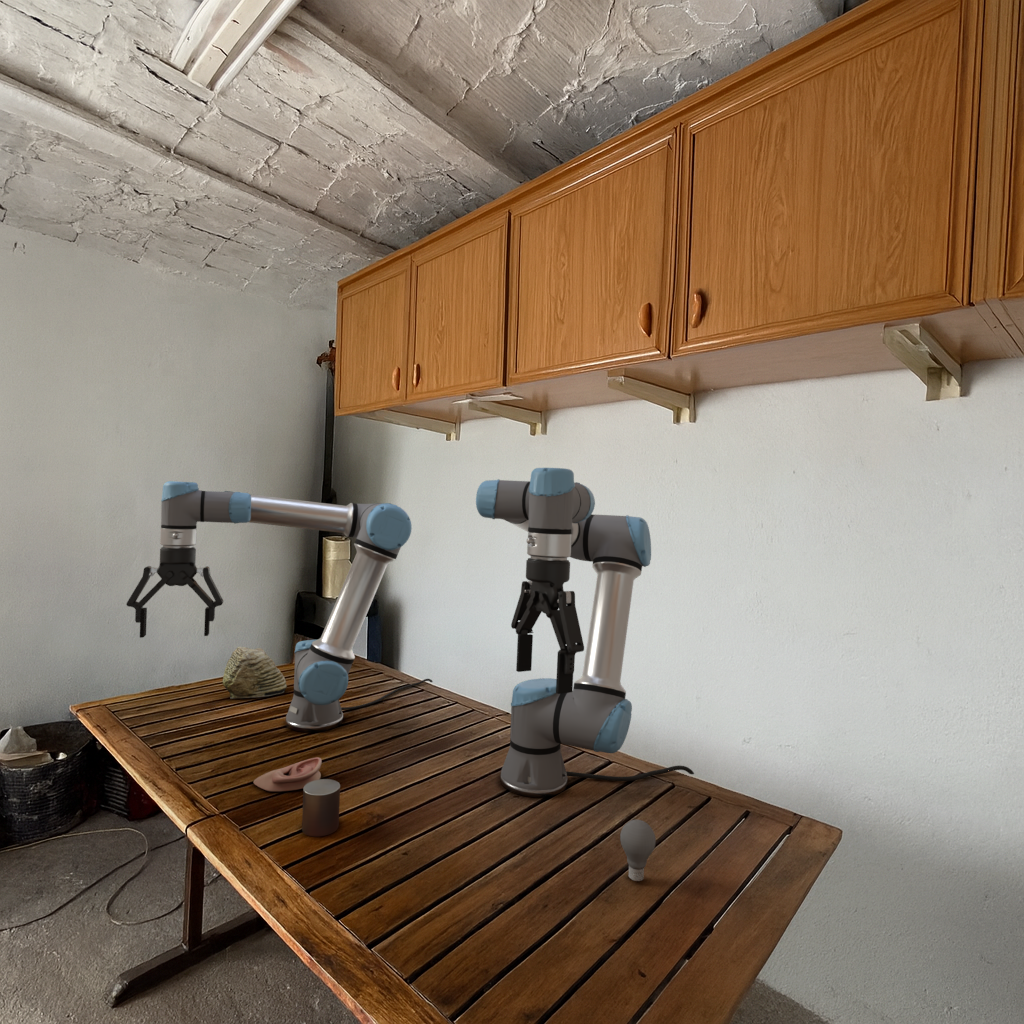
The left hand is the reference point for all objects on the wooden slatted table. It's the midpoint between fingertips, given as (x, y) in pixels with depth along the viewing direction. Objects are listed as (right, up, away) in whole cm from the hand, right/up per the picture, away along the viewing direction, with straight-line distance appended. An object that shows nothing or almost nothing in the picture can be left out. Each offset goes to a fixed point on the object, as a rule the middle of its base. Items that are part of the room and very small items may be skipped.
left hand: (175, 635), depth 150 cm
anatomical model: (+30, -30, -10) cm, 44 cm away
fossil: (-1, -28, +48) cm, 55 cm away
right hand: (+85, 0, -42) cm, 95 cm away
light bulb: (+101, -34, -42) cm, 115 cm away
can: (+43, -31, -29) cm, 61 cm away
